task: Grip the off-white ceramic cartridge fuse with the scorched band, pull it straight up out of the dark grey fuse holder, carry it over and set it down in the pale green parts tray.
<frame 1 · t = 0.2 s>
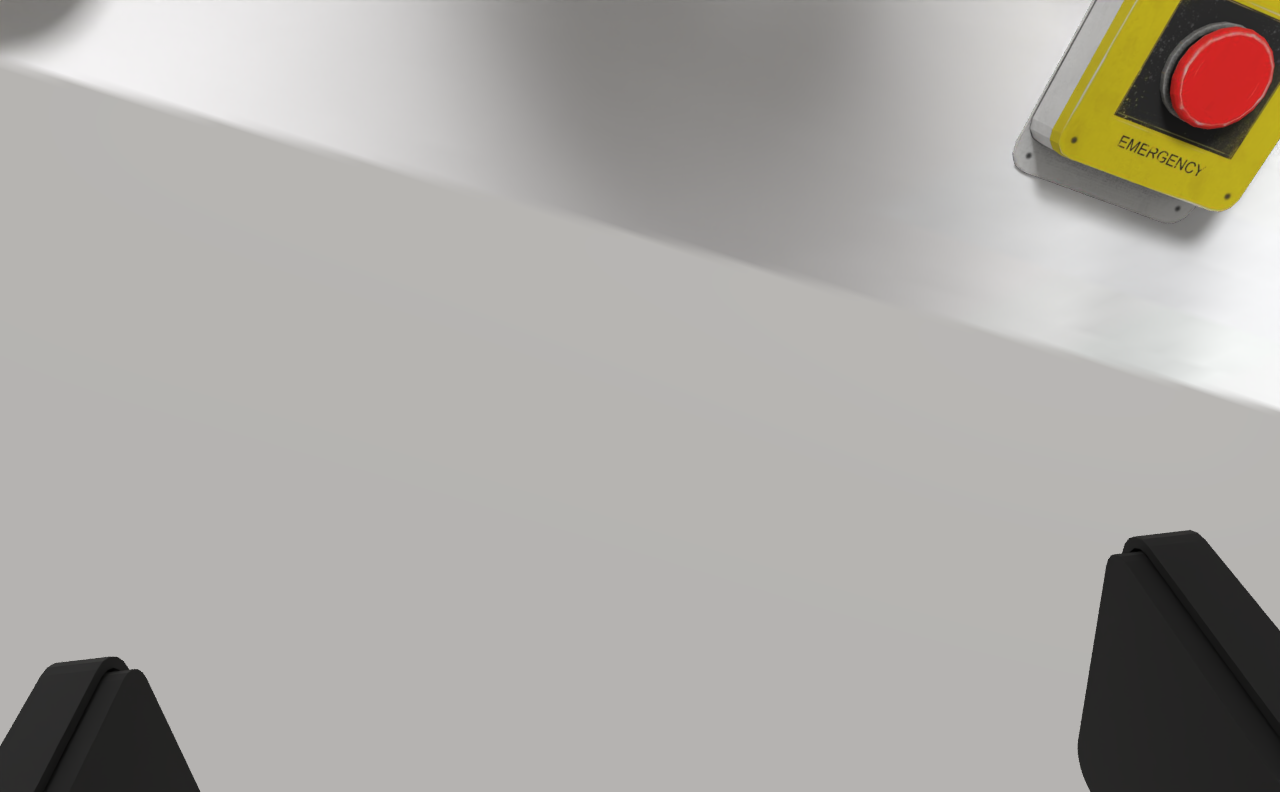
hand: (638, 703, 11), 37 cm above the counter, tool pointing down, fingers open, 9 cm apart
emergency button: (1182, 29, 45), on the counter
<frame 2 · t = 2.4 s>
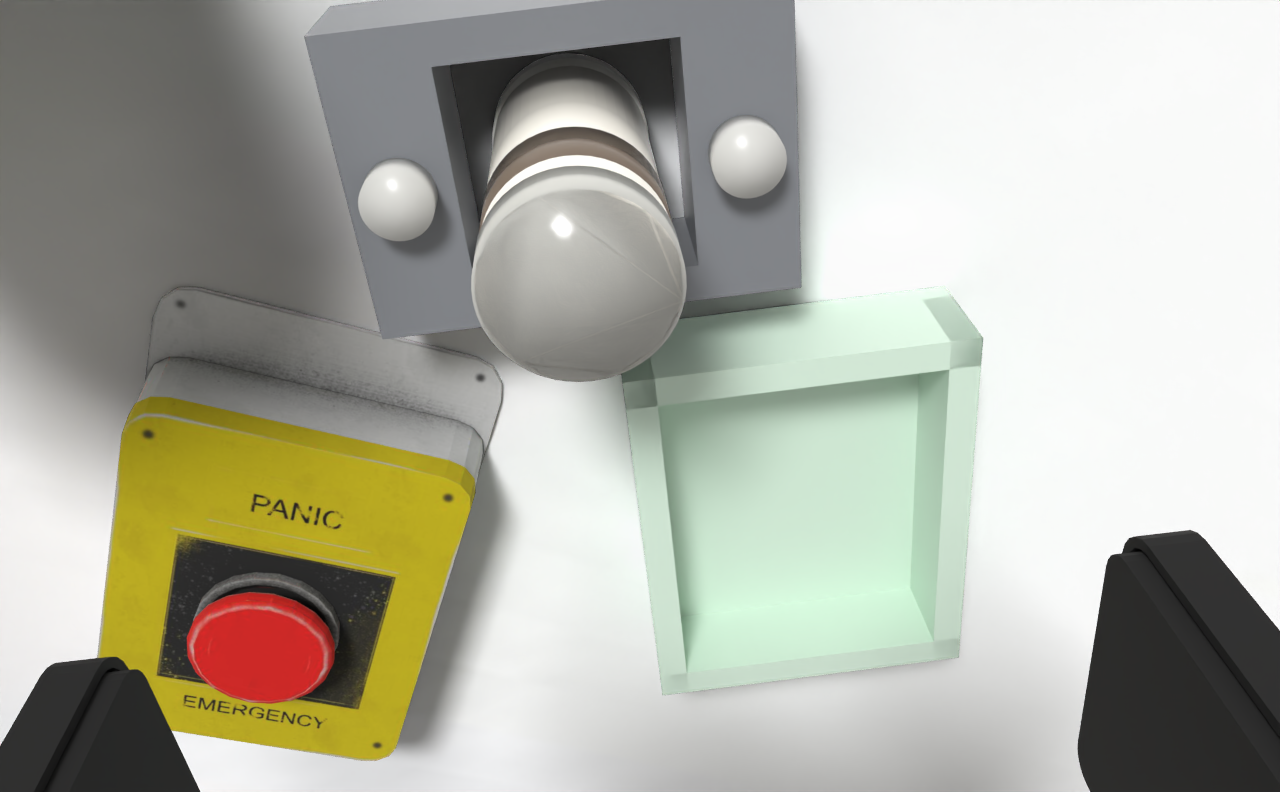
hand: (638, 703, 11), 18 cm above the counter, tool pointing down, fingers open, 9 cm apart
fuse: (570, 130, 26), resting in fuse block
tray: (786, 470, 32), on the counter
emergency button: (299, 523, 32), on the counter
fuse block: (570, 130, 26), on the counter
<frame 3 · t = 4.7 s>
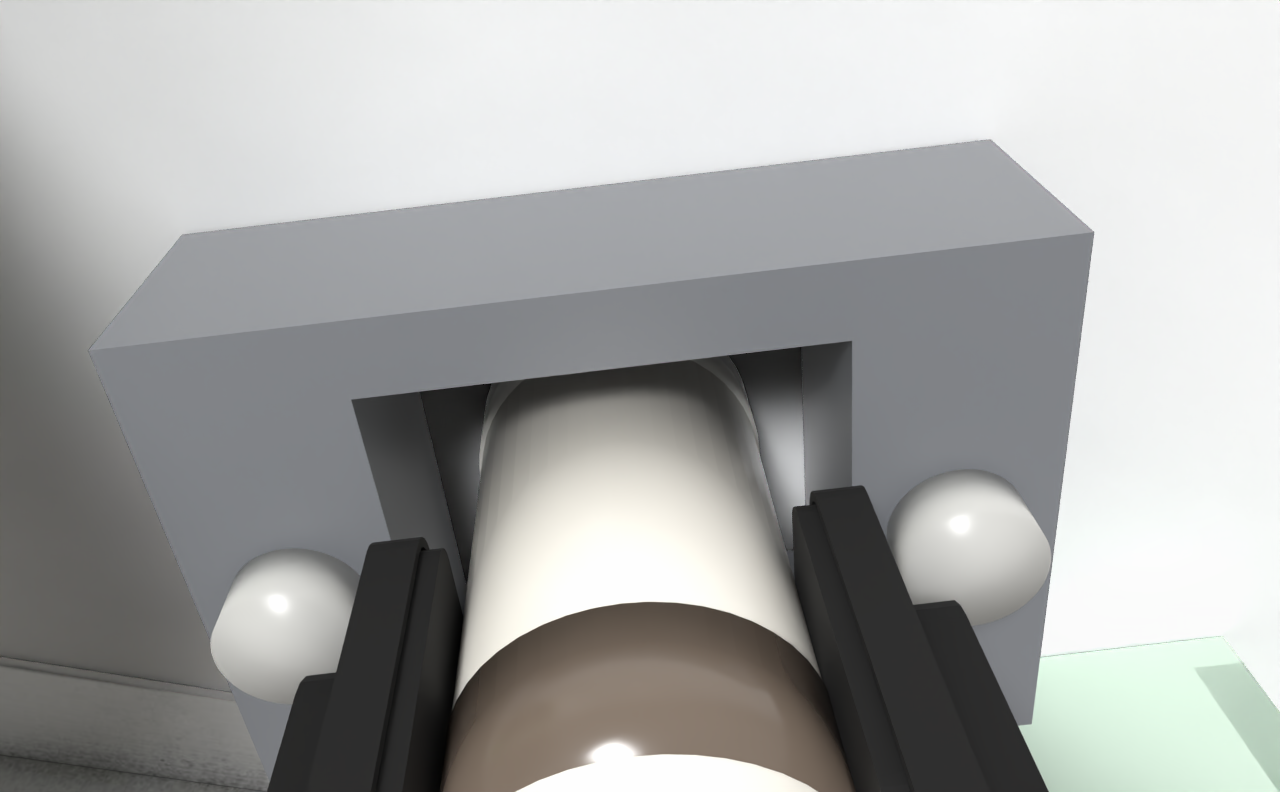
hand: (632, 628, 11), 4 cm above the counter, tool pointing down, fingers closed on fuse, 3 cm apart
fuse: (617, 425, 15), resting in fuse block, touching gripper
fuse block: (617, 425, 15), on the counter
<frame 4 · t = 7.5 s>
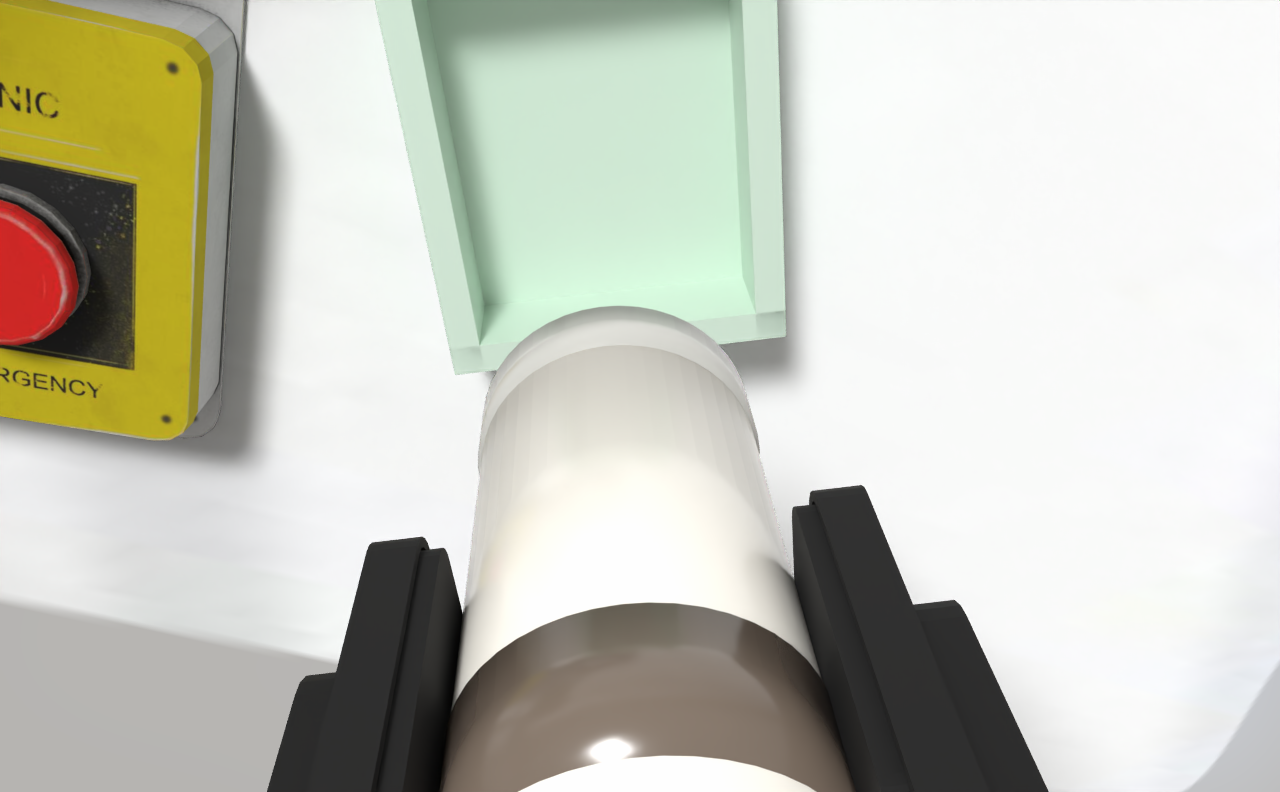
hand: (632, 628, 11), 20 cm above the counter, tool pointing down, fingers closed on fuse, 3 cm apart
fuse: (616, 425, 15), point 16 cm above the counter, touching gripper
tray: (593, 122, 28), on the counter
emergency button: (62, 172, 29), on the counter
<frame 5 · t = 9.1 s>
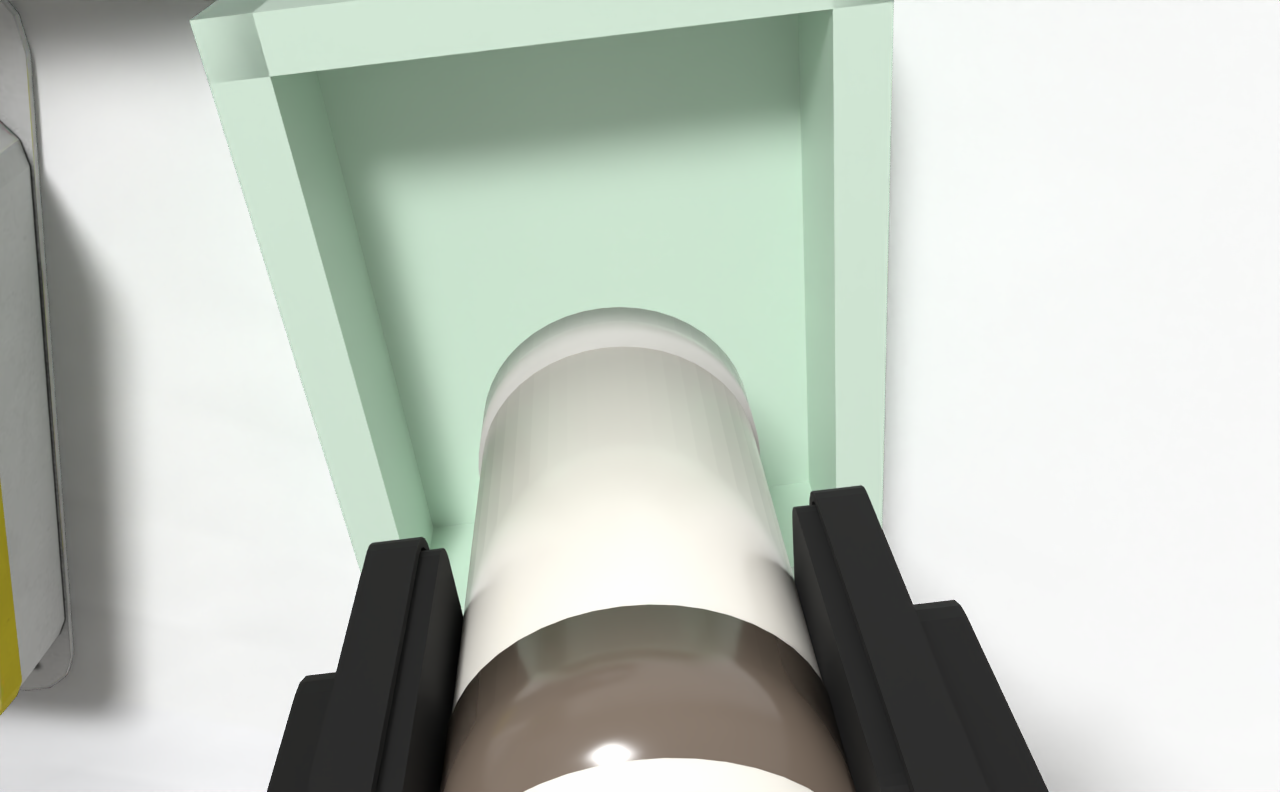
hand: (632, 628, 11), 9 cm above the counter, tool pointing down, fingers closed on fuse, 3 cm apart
fuse: (617, 426, 15), point 5 cm above the counter, touching gripper
tray: (590, 273, 19), on the counter
when the fingers open (6 cm above the counter, at t = 10.3 s): fuse drops 1 cm, resting on tray.
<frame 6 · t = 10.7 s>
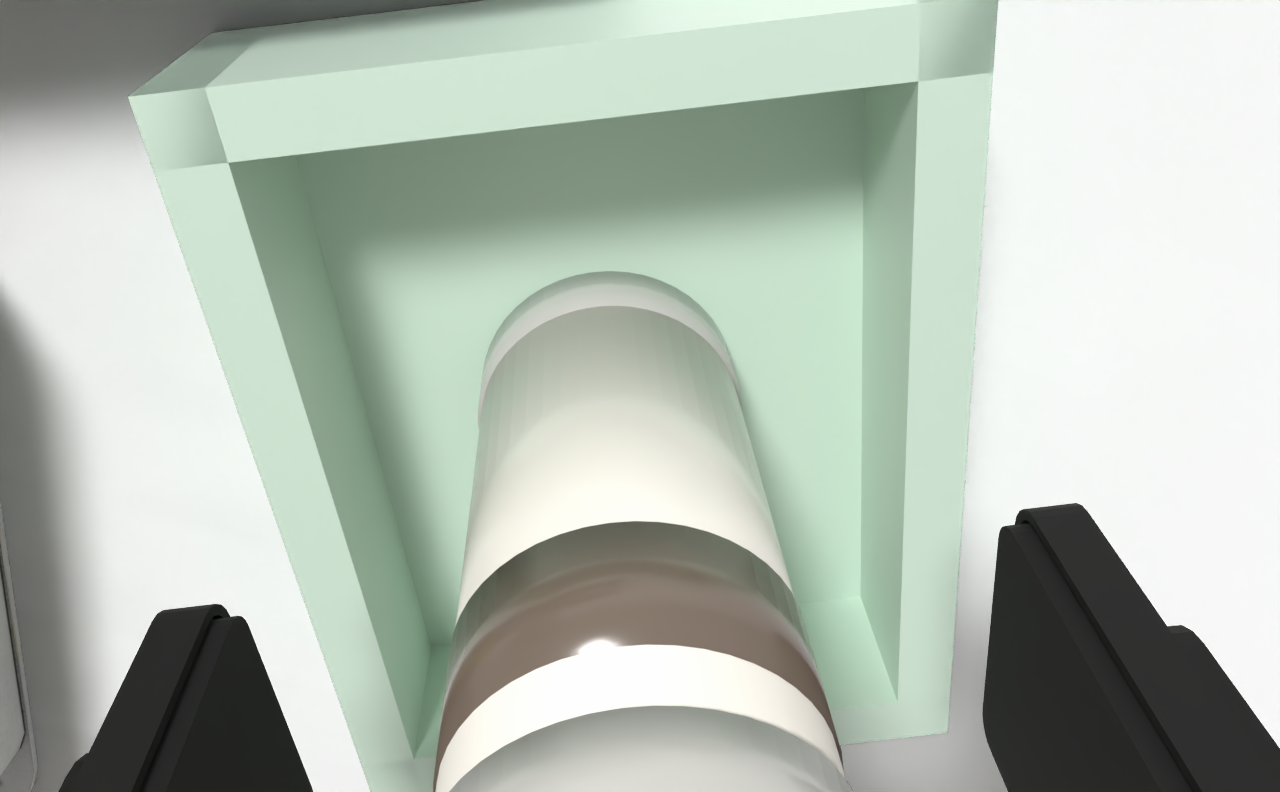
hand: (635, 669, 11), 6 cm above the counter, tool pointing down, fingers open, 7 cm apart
fuse: (608, 385, 16), point 1 cm above the counter, touching tray
tray: (613, 366, 16), on the counter
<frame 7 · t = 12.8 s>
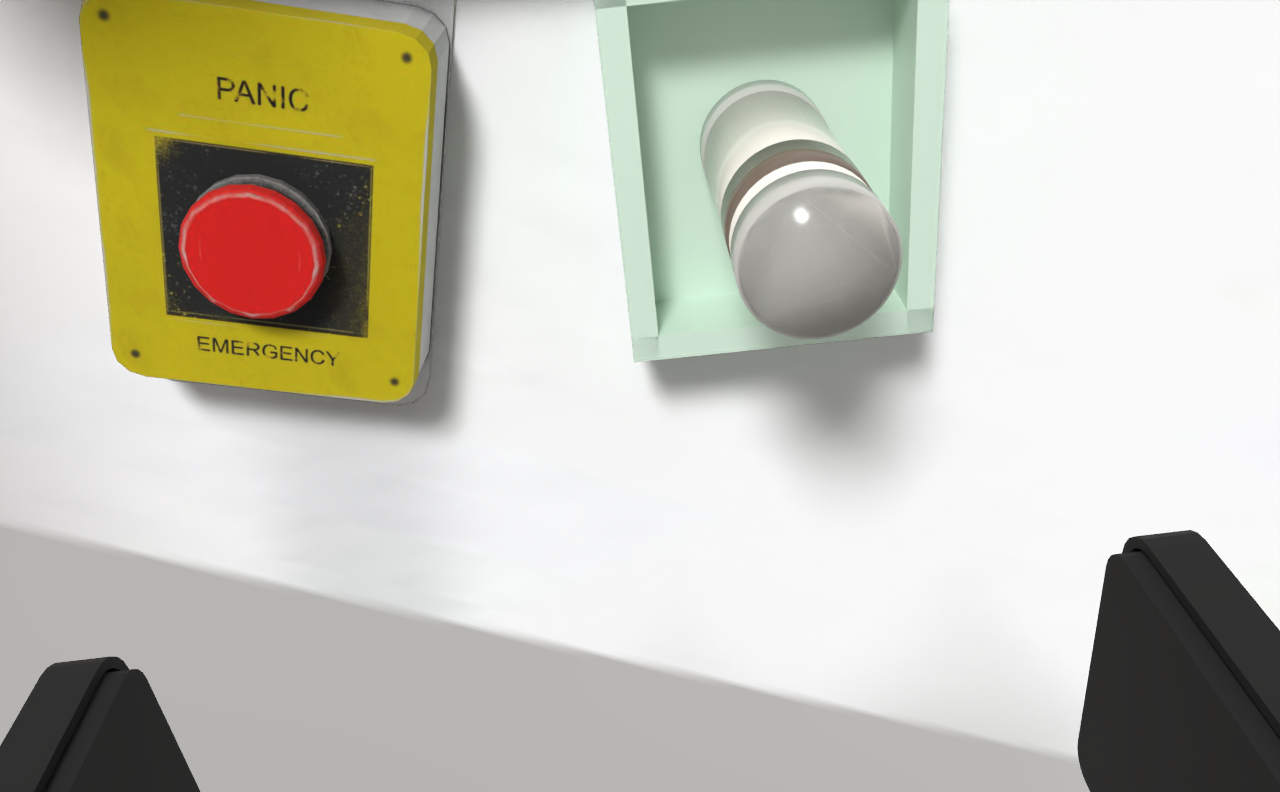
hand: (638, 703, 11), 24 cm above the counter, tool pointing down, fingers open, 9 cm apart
fuse: (762, 143, 31), point 1 cm above the counter, touching tray
tray: (762, 138, 32), on the counter
emergency button: (291, 167, 32), on the counter
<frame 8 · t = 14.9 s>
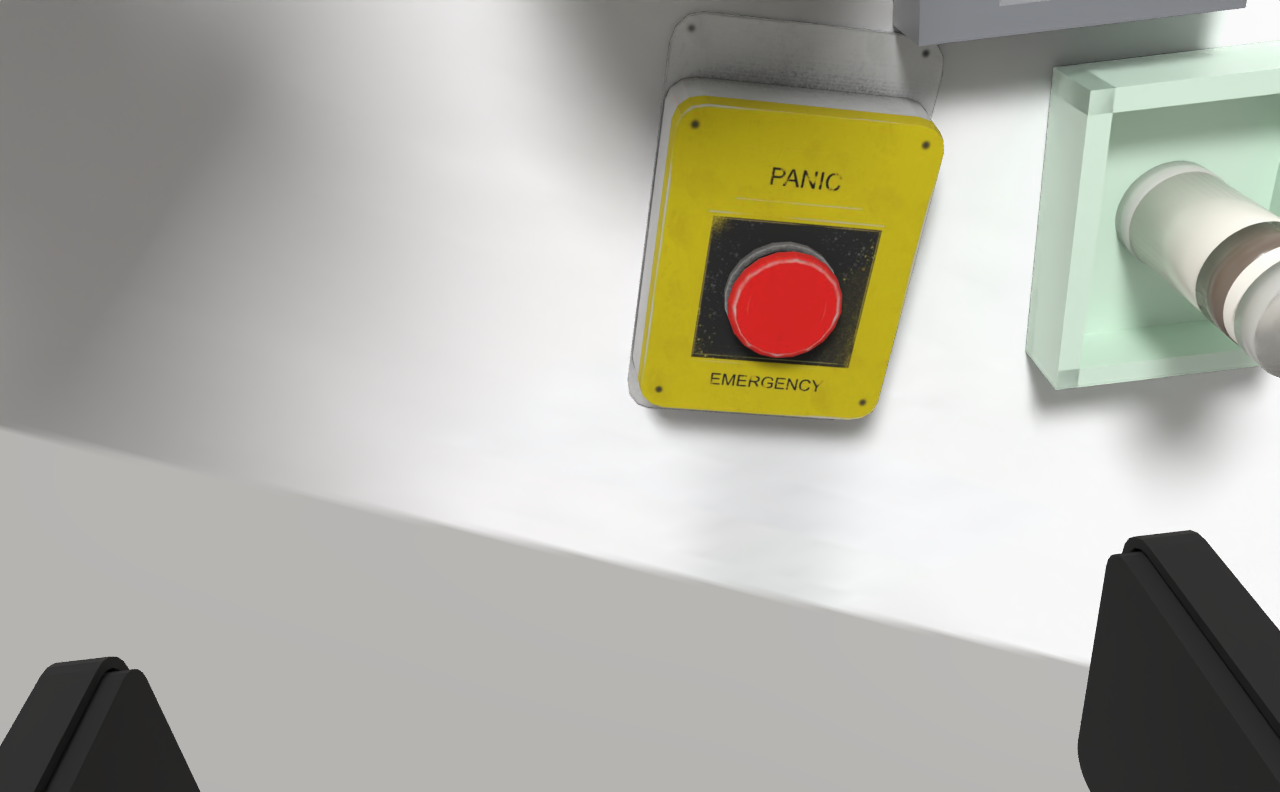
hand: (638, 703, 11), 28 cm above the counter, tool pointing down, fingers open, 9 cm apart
fuse: (1166, 210, 38), point 1 cm above the counter, touching tray
tray: (1161, 205, 39), on the counter
emergency button: (770, 229, 39), on the counter
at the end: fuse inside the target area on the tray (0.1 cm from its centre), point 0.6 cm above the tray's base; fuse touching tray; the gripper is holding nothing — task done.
